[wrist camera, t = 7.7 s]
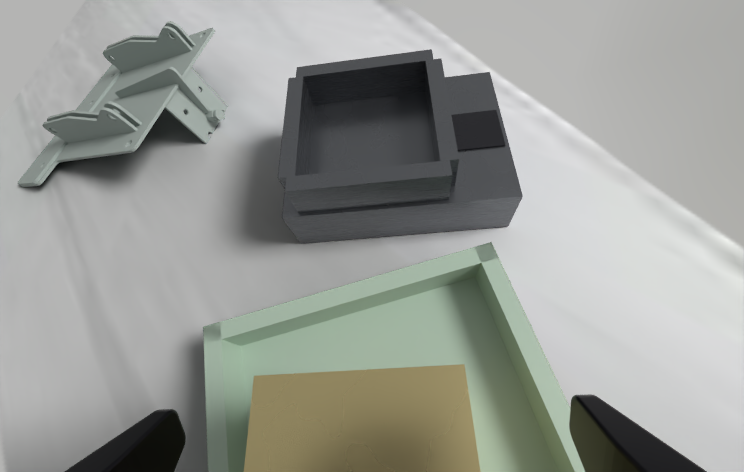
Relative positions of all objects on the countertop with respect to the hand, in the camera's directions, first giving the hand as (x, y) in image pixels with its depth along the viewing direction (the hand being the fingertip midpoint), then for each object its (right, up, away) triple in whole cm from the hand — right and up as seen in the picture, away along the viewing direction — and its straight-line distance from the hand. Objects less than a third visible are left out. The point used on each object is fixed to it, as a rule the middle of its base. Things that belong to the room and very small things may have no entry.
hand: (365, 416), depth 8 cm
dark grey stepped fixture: (+2, +8, +13) cm, 16 cm away
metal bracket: (-17, +13, +19) cm, 29 cm away
